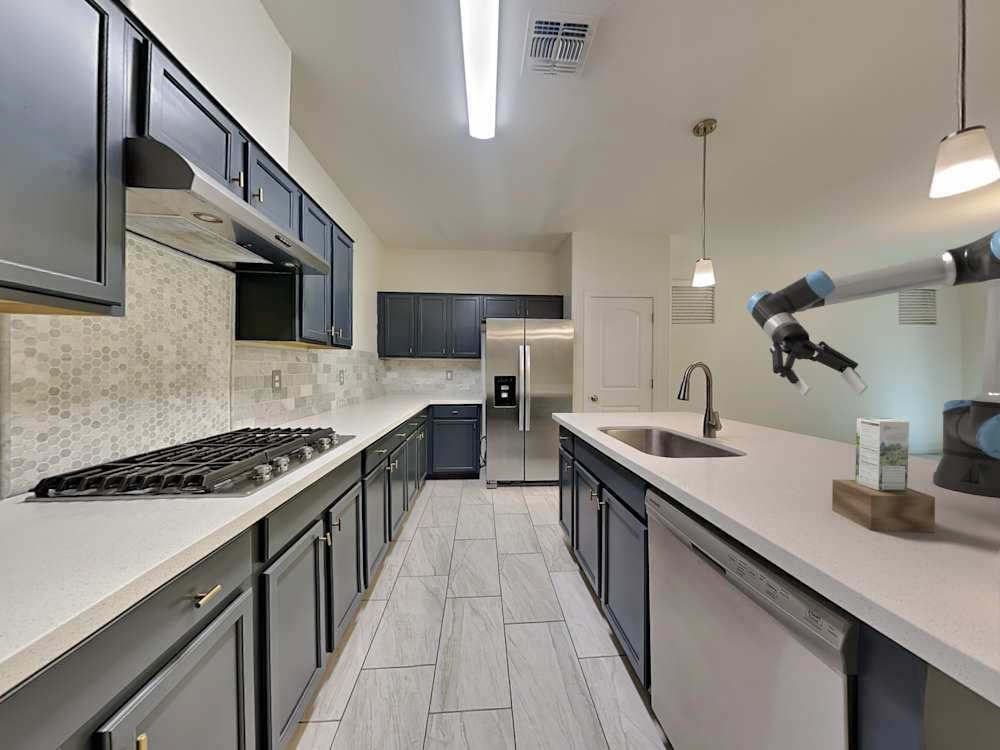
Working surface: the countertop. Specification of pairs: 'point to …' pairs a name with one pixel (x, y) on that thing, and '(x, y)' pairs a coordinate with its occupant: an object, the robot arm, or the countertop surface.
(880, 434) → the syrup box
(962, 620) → the countertop surface
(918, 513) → the walnut block
